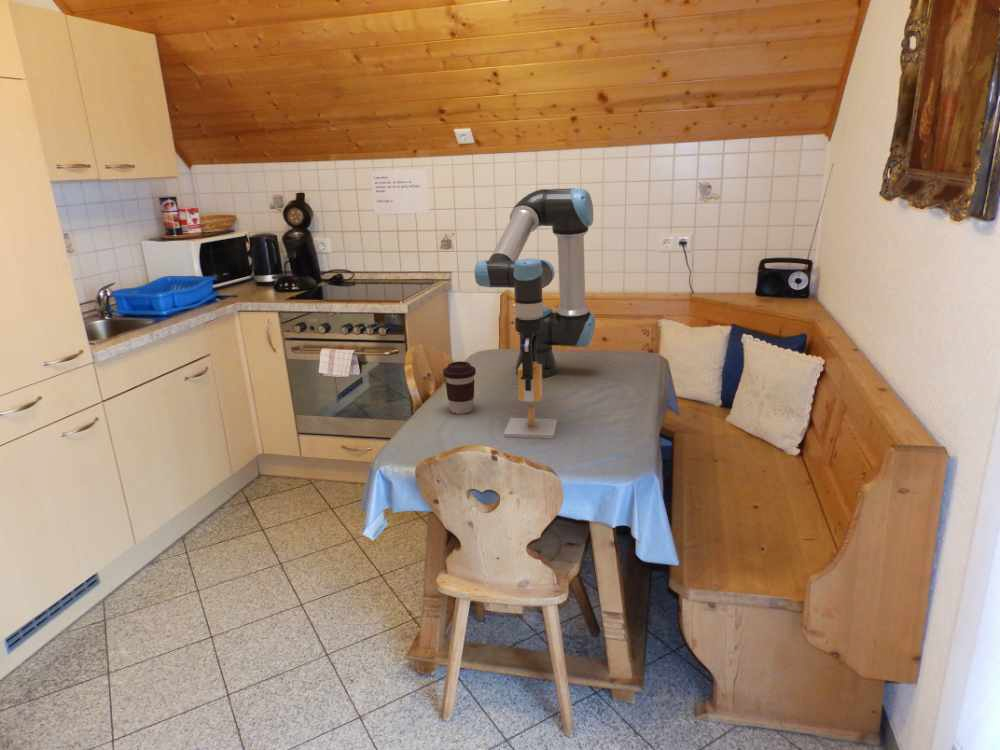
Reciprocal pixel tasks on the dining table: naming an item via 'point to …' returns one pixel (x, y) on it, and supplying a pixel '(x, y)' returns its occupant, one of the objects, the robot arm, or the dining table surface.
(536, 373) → the orange toy brick
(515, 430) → the white pegged board
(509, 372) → the dining table surface
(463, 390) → the coffee cup
